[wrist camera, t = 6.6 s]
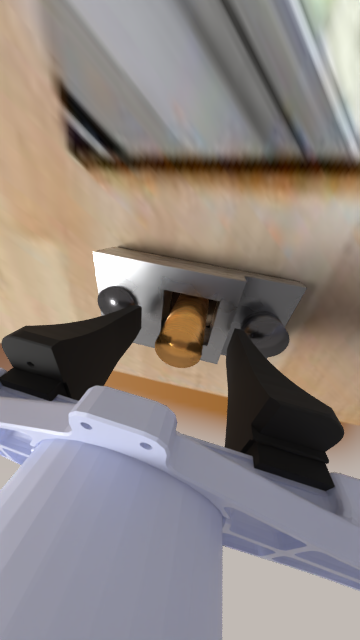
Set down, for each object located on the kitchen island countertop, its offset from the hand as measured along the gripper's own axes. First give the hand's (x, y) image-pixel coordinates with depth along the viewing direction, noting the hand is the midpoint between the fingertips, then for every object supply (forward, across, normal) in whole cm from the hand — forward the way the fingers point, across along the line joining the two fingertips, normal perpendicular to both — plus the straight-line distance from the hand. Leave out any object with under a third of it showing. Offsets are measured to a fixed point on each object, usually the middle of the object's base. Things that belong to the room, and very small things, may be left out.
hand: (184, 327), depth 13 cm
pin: (+4, 0, 0) cm, 4 cm away
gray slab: (+4, 0, 0) cm, 4 cm away
